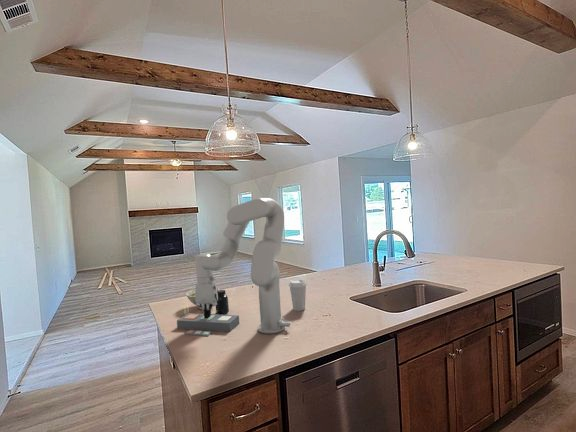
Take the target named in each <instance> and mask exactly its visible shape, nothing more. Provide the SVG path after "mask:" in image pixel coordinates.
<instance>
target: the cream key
mask: <svg viewBox="0 0 576 432" xmlns="http://www.w3.org/2000/svg"><path fill="white" fill-rule="evenodd" d="M231 318H232V316H222V317H220V318H219V319H218V320H217V321H229V320H230V319H231Z"/></svg>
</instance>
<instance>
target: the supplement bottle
mask: <svg viewBox="0 0 576 432" xmlns="http://www.w3.org/2000/svg"><path fill="white" fill-rule="evenodd" d="M217 294H218V301H217V305H216V306H215V312H216V313H215V314H219V315H228V313H229V311H230V308H229V297H228V295H227V294H226V290H225V289H220V290H219V291H217Z"/></svg>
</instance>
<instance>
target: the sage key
mask: <svg viewBox="0 0 576 432" xmlns="http://www.w3.org/2000/svg"><path fill="white" fill-rule="evenodd" d="M214 317H215V315H211V316H210V317H209V318H204V317H202V318H201V319H200V320H212V319H213V318H214Z"/></svg>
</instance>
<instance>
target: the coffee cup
mask: <svg viewBox="0 0 576 432" xmlns="http://www.w3.org/2000/svg"><path fill="white" fill-rule="evenodd" d="M288 286H289V291H290V297H291V302H292V303H291V304H292V309H293V311H297V312H300V311H301V312H302V311H305V310H306V294H307V292H306V291H307V290H306V289H307V281H305V279H300V278H299V279H298V278H297V279H292V280H290V281H289V283H288Z"/></svg>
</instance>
